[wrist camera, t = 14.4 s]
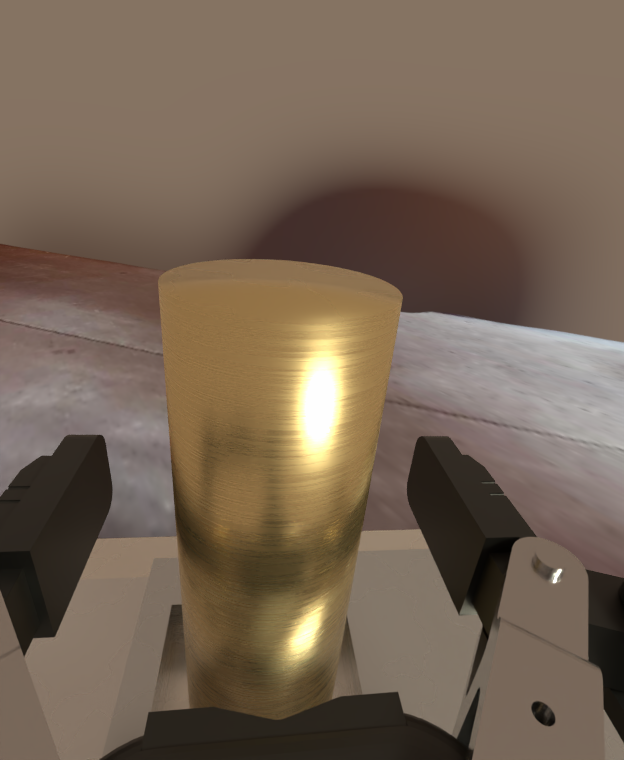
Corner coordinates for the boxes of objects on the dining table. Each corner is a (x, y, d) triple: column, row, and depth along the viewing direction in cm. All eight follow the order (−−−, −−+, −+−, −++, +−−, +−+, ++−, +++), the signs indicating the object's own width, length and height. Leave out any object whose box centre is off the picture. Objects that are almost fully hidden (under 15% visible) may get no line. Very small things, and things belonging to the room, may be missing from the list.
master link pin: (163, 771, 12) (98, 284, 6) (239, 646, 16) (243, 251, 10) (288, 855, 11) (360, 343, 5) (342, 700, 14) (423, 281, 8)
